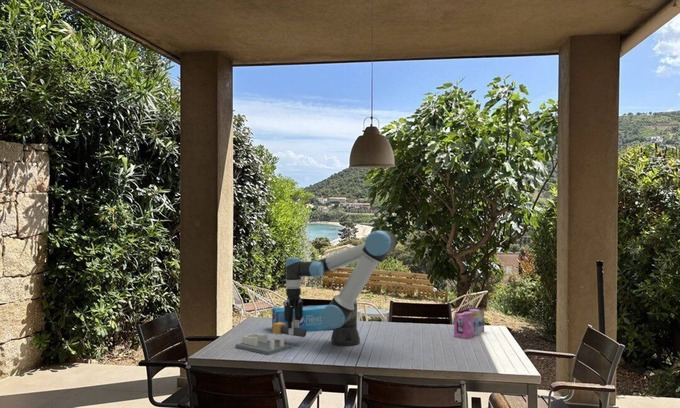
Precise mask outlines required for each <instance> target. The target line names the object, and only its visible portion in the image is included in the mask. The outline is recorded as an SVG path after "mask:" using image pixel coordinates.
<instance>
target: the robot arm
mask: <svg viewBox="0 0 680 408" xmlns="http://www.w3.org/2000/svg"><path fill="white" fill-rule="evenodd" d="M396 246H397V237H396V236H395V234H394V233H392V232H391V231H388V230H374V231H372V232H370V233H369V234H368V235H367V236H366V238H365V240H364V242H363V243H360V244H358V245H355V246H352V247H349V248H347V249H345V250H342V251H340V252H337V253H334V254H332V255H329V256H326V257H324V258H323V257H322V259H317V260H313V261H312V260H311V261H301V258H300V257H287V258H286V260H285V285H286V286H285V287H286V289H285V292H286V293H285V295H286V296H287V298H286V301H283V307H284V312H285V321H287V322H288V328H289V335H288V336H293V335H294V328H299V326H300V320H301V318H302V317H303V306H304V304H303V303H304V299H303V298H301V297H300V296H301V295H302V289H301V286H302V284H301V283H302V282H301V281H302V280H301V277H314V278H315V277H321V276H322V275H326V274H327V273H329V272H331V271H333V270H336V269H339V268H342V267H344V266H347V265H350V264H352V263H355V262H357V264H356V265H355V266H354V269H353V270H352V272H351V273H350V275H349V277H348V279H347V280H346V282H345V283H344V285H343V287H342V289H341V290H340V292H339V293H338V294H337V295H334V296H333V298H332V300H331V301H330V302H329V304H327V305H328V306H326V307H325V309H324V310H323V313H322V318H323V321H324V323H325V324H326V325H327V326H328V327H330V328H334V330H332V331H333V332H332V334H331V336H330V339H331V340H330V343H332V344H333V345H334V346H335V345H337V346H341V347H342V346H344V347H345V346H346V347H349V346H350V347H351V346H357V345H359V344H361V338H360V335H359V331H358V327H357V326H358V325H357V324H358V302H357V301H358V300H357V299H358V298H359V296H360V294H361V292H362V291H363V289H364V287H365V286H366V284H367V282H368V281H369V279H370V278H371V276H372V274H373V273H374V271H375V269H376V268H377V266H378V264H381V263H384V261H385V259H386V257H387V256H388V254H390V253H392V252H393V251H394V250H395V249H396ZM293 310H294V313H295V319H296V320H294V327H293V322H292V319H293Z"/></svg>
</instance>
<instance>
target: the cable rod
mask: <svg viewBox="0 0 680 408" xmlns="http://www.w3.org/2000/svg"><path fill="white" fill-rule="evenodd" d="M272 334H275V335H278V336H279V335H288V336H290V335H289V328H288V326H286V323H281V322H278V323H274V324H273V329H272ZM306 335H307V332H306V330H305V329H301V328H294V335H292V336H295V337H299V338H305V337H306Z"/></svg>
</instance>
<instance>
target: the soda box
mask: <svg viewBox="0 0 680 408" xmlns="http://www.w3.org/2000/svg"><path fill="white" fill-rule="evenodd" d="M328 305H329V304H322V305H321V304H319V305H305V306H304V305H303V317H302V318H301V320H300V326H299V328H301V329H305V330H306V333H307V332H316V331H317V332H318V331H319V330H320V331H332V330H331V329H334V328H330V327H328V326H327V325H326V324H325V323H324V321H323V318H322V313H323V310H324V309H325V307H326V306H328ZM271 309H272V311H271V313H272V314H271V329H272V330H273V324H274V323H278V322H281V323H286V326H288V322H287V321H285V312H284V306H283V307H272V308H271ZM294 320H296V319H295V313H294V310H293V319H292V322H293V327H294Z"/></svg>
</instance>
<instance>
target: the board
mask: <svg viewBox="0 0 680 408" xmlns="http://www.w3.org/2000/svg"><path fill="white" fill-rule="evenodd" d="M268 336H269V335H268V334H261V333H255V332H254V333H250V334H246V335H243V336H242V337H241V338H242V339H241V340H242V342H240V343H236V344H235V348H236V349H240V350H245V351H250V352H255V353H259V354H263V355H266V356H267V355H268V356H270V355H273V354H276V353H279V352H283V351H286V350H288V349H291V348H292V345H291V344H287V343H285V338H284V337H279V341H275V340H274V339H271V340H268Z"/></svg>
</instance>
